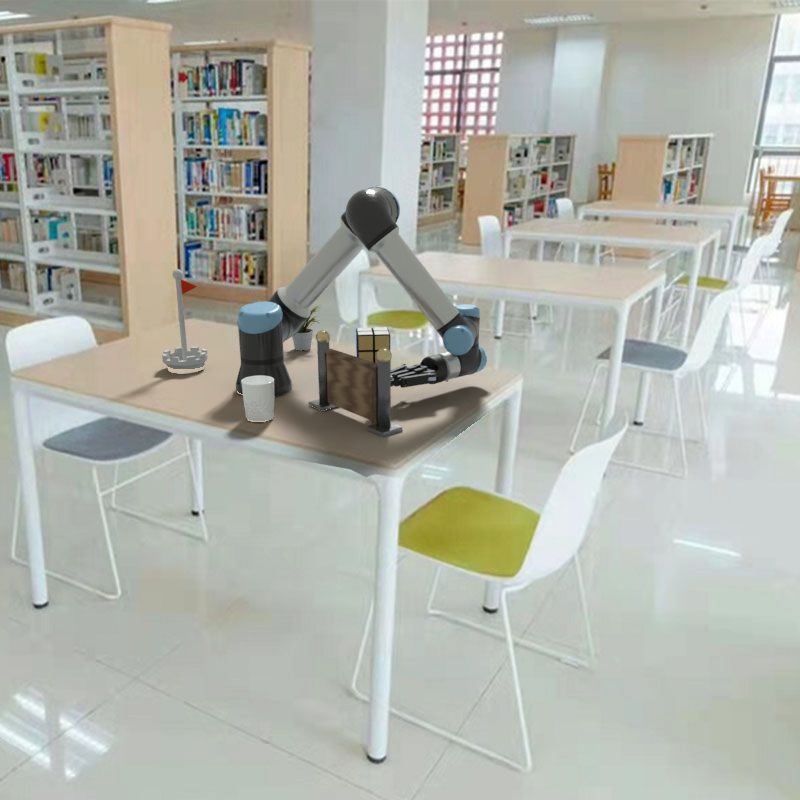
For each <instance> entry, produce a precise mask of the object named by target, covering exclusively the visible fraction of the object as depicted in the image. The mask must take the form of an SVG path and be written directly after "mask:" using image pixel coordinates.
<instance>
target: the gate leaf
mask: <svg viewBox="0 0 800 800" xmlns="http://www.w3.org/2000/svg"><path fill="white" fill-rule="evenodd" d="M325 354H326V360H327V392H328V403H330V404H332V405H335V406H337V408H340V409H342V410H345V411H347V412H350V413H351V414H354V415H357V416H358V417H359V416H360V417H362V418H364V419H367V420H368V421H369V420H370V421H371V425H372V424H374V425H378V364H377V363H374V362H371V361H368V360H364V359H361V358H358V357H357V356H355V355H352V354H348V353H345V352H343V351H339V350H336V349H333V348H329V349H327V350H325Z"/></svg>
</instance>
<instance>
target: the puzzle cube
mask: <svg viewBox="0 0 800 800" xmlns="http://www.w3.org/2000/svg"><path fill="white" fill-rule="evenodd" d="M355 341H356V343H355V344H356V345H355V347H356V357H358V358H361V359H364V360H368V361H371V362H374V363H377V364H378V362H377V358H376V354H377V352H378V351H379V350H380V349H382V348H386V349H388V350H389V351H390V352H391V333H390V330H389V328H388V326H386V327H385V326H384V327H382V326H380V327H379V326H378V327H356V329H355Z"/></svg>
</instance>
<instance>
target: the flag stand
mask: <svg viewBox="0 0 800 800" xmlns="http://www.w3.org/2000/svg"><path fill="white" fill-rule="evenodd" d="M183 276H184V272H183V271H182V270H181V269H175V270H174V269H173V271H172V277H173V279H175V280H174V281H175V288H176V289H175V290H176V300H177V311H178V320H179V321H178V323H179V333H180V343H181V346H178V347H174V351H172V352H171V349H166V350H163V351H162V353H161V357H162V362H163V364H165V365H166V367H167V366H168V367H170V368H173V369H195V368H200V367H203V366H204V365H206V363H205V362H207V361H208V359H209V358H208V350H207V348H201V350H200V348H199V346H190V347H189V350H188V344H187V333H186V332H187V331H186V322H185V311H184V301H183V295H185V294H186V293H188V292H189V291H192V290H193V289H195V288H197V287H198V286H197V285H195V284H193V283H190V282H188V281H185V280H183ZM181 360H183V361H181Z"/></svg>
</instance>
